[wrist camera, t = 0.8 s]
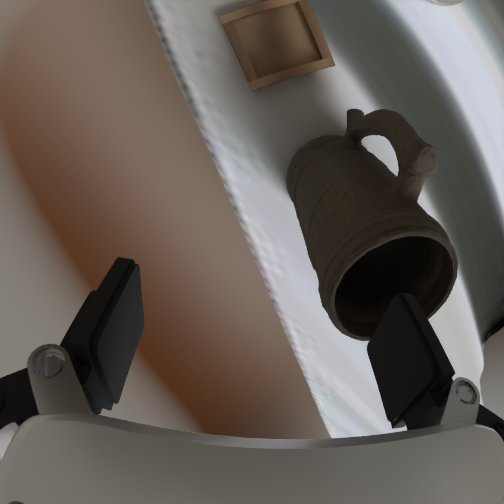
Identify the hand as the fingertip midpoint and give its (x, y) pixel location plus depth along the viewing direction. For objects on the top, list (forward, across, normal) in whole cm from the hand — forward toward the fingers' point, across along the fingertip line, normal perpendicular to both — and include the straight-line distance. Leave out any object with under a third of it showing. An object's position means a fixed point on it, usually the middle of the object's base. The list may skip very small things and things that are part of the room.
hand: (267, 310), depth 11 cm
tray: (+26, 0, -13) cm, 29 cm away
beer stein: (+26, -9, 0) cm, 27 cm away
